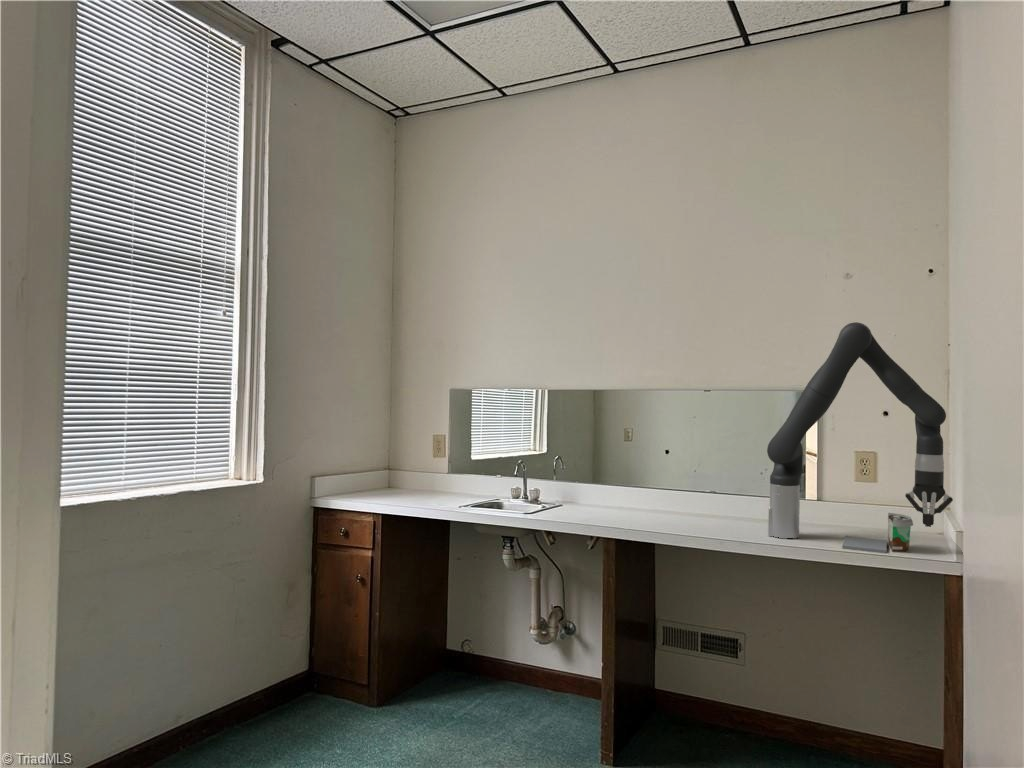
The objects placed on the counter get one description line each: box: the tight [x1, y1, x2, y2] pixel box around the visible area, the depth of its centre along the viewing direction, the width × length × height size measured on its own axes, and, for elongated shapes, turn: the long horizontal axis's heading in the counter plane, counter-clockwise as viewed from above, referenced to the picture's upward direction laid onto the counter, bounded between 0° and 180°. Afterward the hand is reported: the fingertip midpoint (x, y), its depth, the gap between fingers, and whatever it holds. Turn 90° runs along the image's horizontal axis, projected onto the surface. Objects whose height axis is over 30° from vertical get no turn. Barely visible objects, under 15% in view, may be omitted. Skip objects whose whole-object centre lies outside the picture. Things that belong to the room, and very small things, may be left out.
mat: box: [841, 535, 888, 554], centre depth 222 cm, size 12×16×1 cm
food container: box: [887, 512, 914, 553], centre depth 217 cm, size 12×6×10 cm, turn 158°
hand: (928, 526), depth 214 cm, fingers closed
